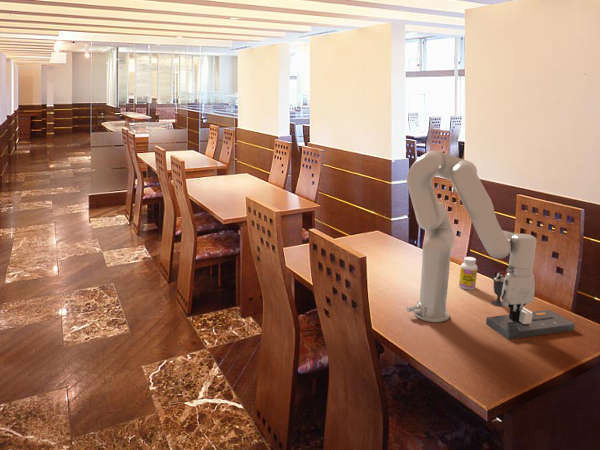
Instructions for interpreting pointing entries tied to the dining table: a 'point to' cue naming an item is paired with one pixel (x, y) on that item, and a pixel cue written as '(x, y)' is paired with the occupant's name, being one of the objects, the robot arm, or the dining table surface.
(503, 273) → the sundae
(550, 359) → the dining table surface
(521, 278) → the robot arm
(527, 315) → the fader
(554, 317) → the dimmer panel
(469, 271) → the supplement bottle
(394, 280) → the dining table surface
